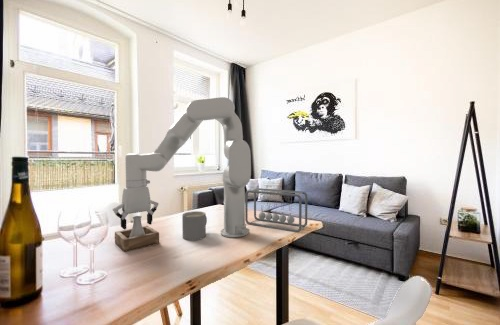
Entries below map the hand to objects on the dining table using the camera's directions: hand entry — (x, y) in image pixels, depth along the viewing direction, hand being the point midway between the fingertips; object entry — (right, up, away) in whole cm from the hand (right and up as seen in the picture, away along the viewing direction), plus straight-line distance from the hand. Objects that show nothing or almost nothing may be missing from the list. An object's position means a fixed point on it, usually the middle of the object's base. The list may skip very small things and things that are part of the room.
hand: (137, 226), depth 98 cm
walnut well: (0, -7, 0) cm, 7 cm away
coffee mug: (+22, -7, +10) cm, 25 cm away
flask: (0, -6, 0) cm, 6 cm away
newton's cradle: (+59, -7, +25) cm, 64 cm away
